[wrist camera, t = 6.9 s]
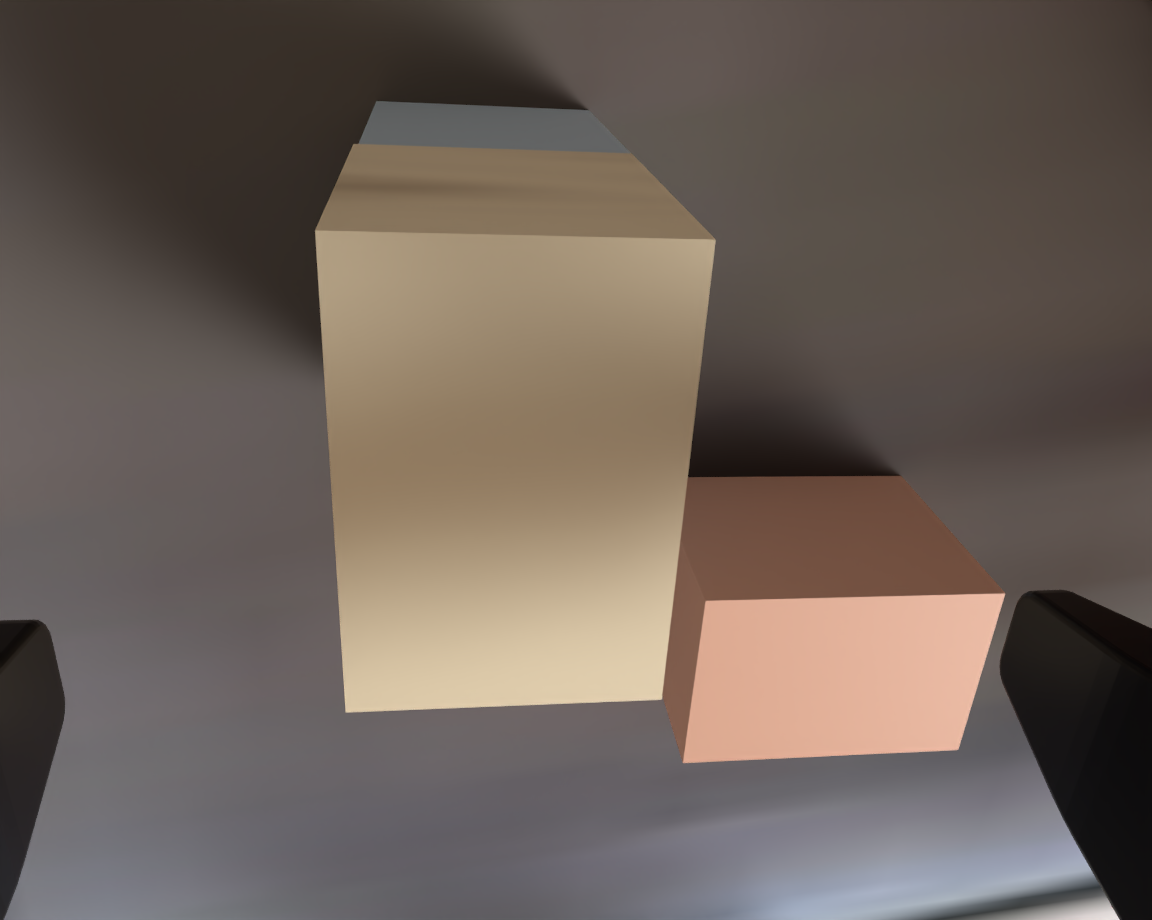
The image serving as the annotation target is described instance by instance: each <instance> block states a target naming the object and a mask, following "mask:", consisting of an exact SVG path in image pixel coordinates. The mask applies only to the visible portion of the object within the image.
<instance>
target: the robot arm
mask: <svg viewBox="0 0 1152 920" xmlns="http://www.w3.org/2000/svg"><path fill="white" fill-rule="evenodd" d="M1000 675H1001V679H1002V683H1003V686H1004V688H1005V690H1006V693H1007V695H1008V697H1009V699H1010V702H1011V704H1012V706H1013V709H1014V711H1015V713H1016V715H1017V718H1018V720H1019V722H1020V724H1021V727H1022V729H1023V731H1024V733H1025V736H1026V738H1027V740H1028V742H1029V745H1030V747H1031V749H1032V751H1033V754H1034V756H1035V758H1036V760H1037V763H1038V765H1039V767H1040V770H1041V772H1042V774H1043V776H1044V779H1045V781H1046V783H1047V785H1048V788H1049V790H1050V792H1051V794H1052V797H1053V799H1054V801H1055V803H1056V805H1057V807H1058V809H1059V811H1060V813H1061V815H1062V817H1063V820H1064V821H1065V823H1066V825H1067V827H1068V829H1069V831H1070V833H1071V834H1072V836H1073V838H1074V840H1075V842H1076V844H1077V845H1078V847H1079V849H1080V851H1081V853H1082V854H1083V856H1084V858H1085V860H1086V861H1087V863H1088V865H1089V867H1090V868H1091V870H1092V872H1093V874H1094V875H1095V877H1096V879H1097V881H1098V882H1099V884H1100V886H1101V888H1102V889H1103V891H1104V893H1105V895H1106V896H1107V898H1108V900H1109V902H1110V903H1111V905H1112V907H1113V909H1114V910H1115V912H1116V914H1117V916H1118V918H1119V919H1120V920H1152V628H1149V627H1147V626H1145V625H1143V624H1141V623H1139V622H1136V621H1134V620H1132V619H1130V618H1128V617H1125V616H1123V615H1121V614H1119V613H1117V612H1114V611H1112V610H1110V609H1108V608H1106V607H1103V606H1101V605H1099V604H1097V603H1095V602H1092V601H1090V600H1088V599H1086V598H1084V597H1081V596H1079V595H1077V594H1075V593H1073V592H1070V591H1066V590H1041V591H1029V592H1027V593H1025V594H1023V595H1022V596H1021V598H1020V599H1019V600H1018V602H1017V605H1016V608H1015V611H1014V614H1013V617H1012V621H1011V624H1010V627H1009V631H1008V634H1007V637H1006V641H1005V644H1004V647H1003V650H1002V654H1001V658H1000ZM64 714H65V697H64V691H63V687H62V682H61V678H60V673H59V669H58V664H57V660H56V656H55V651H54V647H53V642H52V638H51V635H50V632H49V630H48V628H47V626H46V625H45V624H44V623H42V622H41V621H39V620H4V621H0V920H4V918H5V915H6V913H7V910H8V908H9V905H10V902H11V900H12V897H13V894H14V892H15V889H16V887H17V884H18V881H19V877H20V874H21V871H22V868H23V864H24V861H25V858H26V854H27V851H28V847H29V844H30V840H31V836H32V833H33V829H34V826H35V822H36V818H37V815H38V811H39V808H40V804H41V801H42V797H43V793H44V790H45V786H46V783H47V779H48V775H49V772H50V768H51V765H52V761H53V757H54V754H55V750H56V747H57V743H58V739H59V736H60V732H61V729H62V725H63V721H64Z"/></svg>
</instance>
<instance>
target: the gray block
mask: <svg viewBox="0 0 1152 920" xmlns="http://www.w3.org/2000/svg"><path fill="white" fill-rule="evenodd" d="M359 144H375V145H404V146H433V147H462V148H491V149H520V150H549V151H578V152H607V153H630V152H629V151H628V150H627V149H626V148H625V147H624V146H623V145H622V144H621V143H620V142H619V141H618V140H617V139H616V138H615V137H614V136H613V135H612V134H611V133H610V132H609V131H608V129H607V128H606V127H605V126H604V125H603V124H602V123H601V122H600V121H599V120H598V119H597V118H596V117H595V116H594V115H593V114H592V113H591V112H590V111H589V110H572V109H549V108H526V107H503V106H479V105H456V104H433V103H410V102H387V101H376V103H375V106H374V108H373V110H372V113H371V115H370V117H369V120H368V122H367V125H366V127H365V129H364V132H363V134H362V137H361V139H360V141H359Z"/></svg>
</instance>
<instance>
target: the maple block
mask: <svg viewBox="0 0 1152 920" xmlns="http://www.w3.org/2000/svg"><path fill="white" fill-rule="evenodd" d="M315 238H316V254H317V269H318V285H319V301H320V316H321V332H322V348H323V363H324V379H325V395H326V410H327V426H328V442H329V458H330V473H331V489H332V505H333V520H334V536H335V552H336V567H337V583H338V599H339V614H340V630H341V646H342V661H343V677H344V693H345V709H346V712H370V711H394V710H419V709H443V708H468V707H493V706H517V705H542V704H566V703H591V702H616V701H640V700H662V692H663V684H664V675H665V667H666V658H667V650H668V641H669V633H670V624H671V616H672V607H673V599H674V590H675V582H676V573H677V565H678V556H679V547H680V539H681V530H682V522H683V513H684V505H685V496H686V488H687V479H688V471H689V462H690V454H691V445H692V437H693V428H694V420H695V411H696V403H697V394H698V386H699V377H700V368H701V360H702V351H703V343H704V334H705V326H706V317H707V309H708V300H709V292H710V283H711V275H712V266H713V258H714V249H715V241H716V240H715V238H714V237H713V236H712V235H711V234H710V233H709V232H708V231H707V230H706V229H705V228H704V227H703V226H702V225H701V224H700V223H699V222H698V221H697V220H696V219H695V218H694V217H693V216H692V215H691V214H690V213H689V212H688V211H687V210H686V209H685V208H684V207H683V206H682V205H681V204H680V203H679V202H678V201H677V200H676V199H675V197H674V196H673V195H672V194H671V193H670V192H669V191H668V190H667V189H666V188H665V187H664V186H663V185H662V184H661V183H660V182H659V181H658V180H657V179H656V178H655V177H654V176H653V175H652V174H651V173H650V172H649V171H648V170H647V169H646V168H645V167H644V166H643V165H642V164H641V163H640V162H639V161H638V160H637V159H636V157H635V156H634V155H633V154H632V153H607V152H578V151H549V150H520V149H491V148H462V147H433V146H404V145H375V144H353V146H352V148H351V151H350V153H349V155H348V157H347V160H346V162H345V164H344V166H343V169H342V171H341V173H340V175H339V178H338V180H337V182H336V184H335V187H334V189H333V191H332V193H331V196H330V198H329V200H328V202H327V205H326V207H325V209H324V211H323V214H322V216H321V218H320V220H319V223H318V225H317V227H316V229H315Z"/></svg>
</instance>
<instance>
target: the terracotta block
mask: <svg viewBox="0 0 1152 920" xmlns="http://www.w3.org/2000/svg"><path fill="white" fill-rule="evenodd" d="M1004 596H1005V592H1004V591H1003V590H1002V589H1001V588H1000V587H999V586H998V585H997V583H996V582H995V581H994V580H993V579H992V578H991V577H990V576H989V574H988V573H987V572H986V571H985V570H984V569H983V568H982V567H981V565H980V564H979V563H978V562H977V561H976V560H975V559H974V558H973V556H972V555H971V554H970V553H969V552H968V551H967V550H966V549H965V547H964V546H963V545H962V544H961V543H960V542H959V541H958V540H957V538H956V537H955V536H954V535H953V534H952V533H951V532H950V530H949V529H948V528H947V527H946V526H945V525H944V524H943V523H942V521H941V520H940V519H939V518H938V517H937V516H936V515H935V514H934V512H933V511H932V510H931V509H930V508H929V507H928V506H927V505H926V503H925V502H924V501H923V500H922V499H921V498H920V497H919V496H918V494H917V493H916V492H915V491H914V490H913V489H912V488H911V487H910V485H909V484H908V483H907V482H906V481H905V480H904V479H903V478H902V476H797V477H688V479H687V488H686V496H685V505H684V513H683V522H682V530H681V539H680V547H679V556H678V565H677V573H676V582H675V590H674V599H673V607H672V616H671V624H670V633H669V641H668V650H667V658H666V667H665V675H664V684H663V692H662V696H663V699H664V702H665V706H666V709H667V712H668V716H669V719H670V722H671V725H672V729H673V732H674V735H675V739H676V742H677V745H678V748H679V752H680V755H681V758H682V762H683V763H693V762H714V761H735V760H756V759H777V758H798V757H819V756H840V755H861V754H882V753H903V752H924V751H945V750H958V749H959V745H960V742H961V739H962V735H963V732H964V729H965V725H966V722H967V719H968V716H969V712H970V709H971V706H972V702H973V699H974V696H975V692H976V689H977V686H978V682H979V679H980V676H981V672H982V669H983V666H984V663H985V659H986V656H987V653H988V649H989V646H990V643H991V639H992V636H993V633H994V629H995V626H996V623H997V619H998V616H999V613H1000V610H1001V606H1002V603H1003V600H1004Z"/></svg>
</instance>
